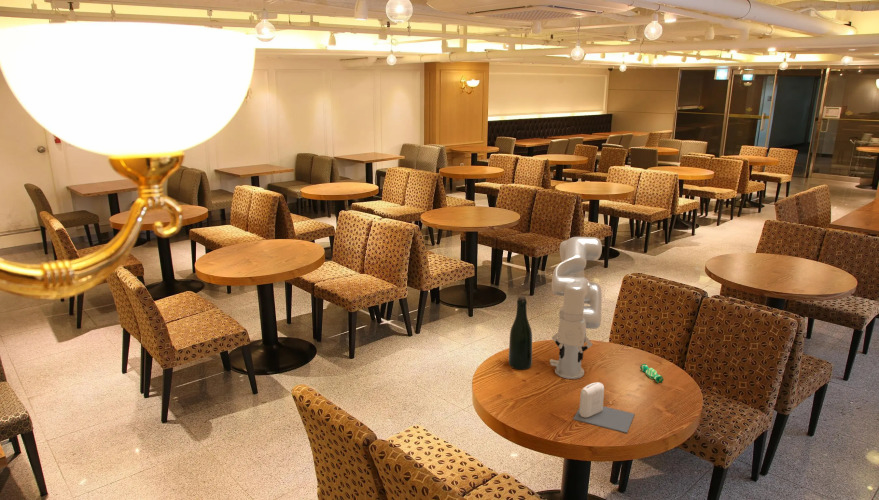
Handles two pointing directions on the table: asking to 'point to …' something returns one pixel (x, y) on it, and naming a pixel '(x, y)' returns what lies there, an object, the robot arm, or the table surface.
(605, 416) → the rubber mat
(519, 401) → the table surface
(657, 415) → the table surface
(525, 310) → the dark green wine bottle
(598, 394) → the photo printer
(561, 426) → the table surface
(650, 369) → the candy
